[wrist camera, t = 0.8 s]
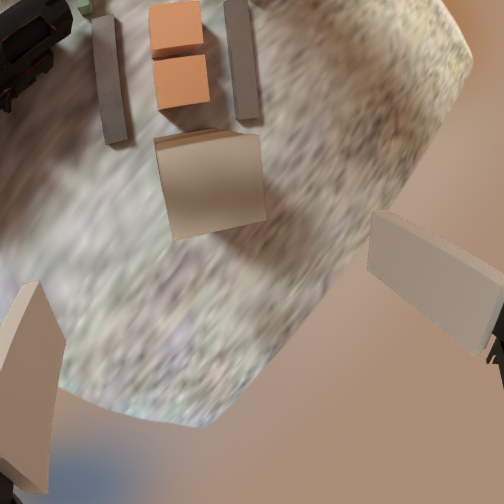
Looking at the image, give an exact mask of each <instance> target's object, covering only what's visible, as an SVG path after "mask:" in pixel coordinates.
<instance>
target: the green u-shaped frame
mask: <svg viewBox="0 0 504 504" xmlns="http://www.w3.org/2000/svg"><path fill="white" fill-rule="evenodd" d="M77 8H78V10H79V11H80V13H81V15H82V16H83V15H86V14H90V13H93V10H92V0H77Z"/></svg>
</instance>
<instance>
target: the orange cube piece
mask: <svg viewBox="0 0 504 504" xmlns="http://www.w3.org/2000/svg"><path fill="white" fill-rule="evenodd" d="M148 25H149V37H150V47H151V57H152V58H157V57H163V56H170V55H177V54H184V53H193V52H196V51H197V50H198V49H199V48H200V47H201V46H202V45H203V43H204V41H203V32H202V22H201V12H200V2H199V1H189V2H178V3H170V4H162V5H155V6H149V13H148Z"/></svg>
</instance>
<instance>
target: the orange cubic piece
mask: <svg viewBox="0 0 504 504" xmlns="http://www.w3.org/2000/svg"><path fill="white" fill-rule="evenodd" d="M153 76H154V84H155V92H156V100H157V108H158V110H163V109H168V108H174V107H180V106H186V105H192V104H199V103H204V102H209V101H210V95H209V87H208V78H207V69H206V60H205V54H203V55H194V56H186V57H179V58H172V59H165V60H159V61H154V63H153Z"/></svg>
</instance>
